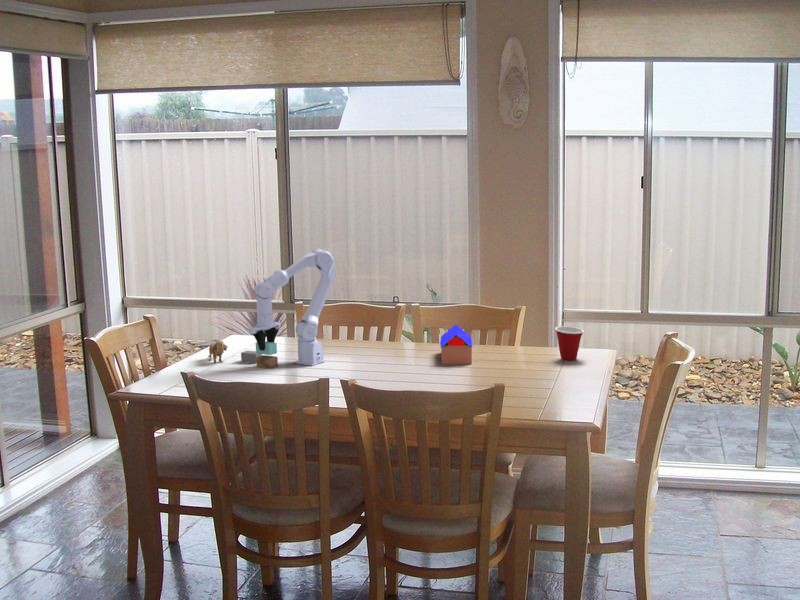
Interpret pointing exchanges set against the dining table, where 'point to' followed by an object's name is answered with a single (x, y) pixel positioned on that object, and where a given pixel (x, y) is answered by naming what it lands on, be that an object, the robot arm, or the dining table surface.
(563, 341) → the plastic cup
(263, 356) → the walnut brick
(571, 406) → the dining table surface
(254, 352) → the gray brick
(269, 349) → the teal brick
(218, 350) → the lion figurine
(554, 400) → the dining table surface
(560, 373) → the dining table surface
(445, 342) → the house
